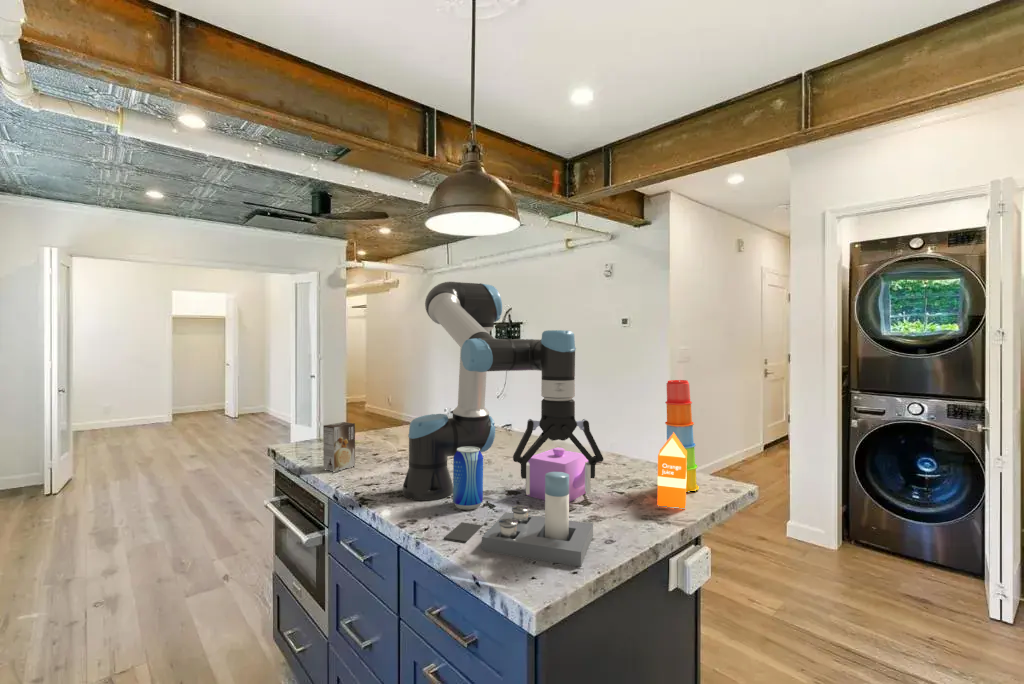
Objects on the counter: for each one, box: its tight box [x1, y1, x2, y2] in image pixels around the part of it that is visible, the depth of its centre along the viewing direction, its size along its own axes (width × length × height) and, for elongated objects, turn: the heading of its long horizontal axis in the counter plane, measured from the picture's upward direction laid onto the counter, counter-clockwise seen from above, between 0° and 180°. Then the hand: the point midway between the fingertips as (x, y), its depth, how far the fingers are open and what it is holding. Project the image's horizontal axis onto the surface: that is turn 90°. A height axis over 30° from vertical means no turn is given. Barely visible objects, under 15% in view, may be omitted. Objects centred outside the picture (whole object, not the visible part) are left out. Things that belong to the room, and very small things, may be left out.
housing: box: [481, 511, 594, 568], centre depth 108 cm, size 22×16×4 cm
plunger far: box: [511, 504, 530, 524], centre depth 114 cm, size 4×4×4 cm
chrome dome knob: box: [499, 518, 518, 539], centre depth 106 cm, size 4×4×4 cm
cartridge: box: [544, 472, 570, 541], centre depth 107 cm, size 5×5×16 cm
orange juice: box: [656, 432, 687, 509], centre depth 137 cm, size 8×9×20 cm
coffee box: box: [322, 421, 356, 472], centre depth 170 cm, size 9×6×16 cm
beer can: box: [452, 446, 484, 510], centre depth 134 cm, size 8×8×16 cm
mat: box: [443, 521, 484, 544], centre depth 114 cm, size 10×10×1 cm
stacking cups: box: [664, 379, 700, 493], centre depth 151 cm, size 10×10×35 cm
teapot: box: [526, 447, 599, 503], centre depth 144 cm, size 15×25×14 cm, turn 54°
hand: (557, 492), depth 106 cm, fingers open, 13 cm apart
